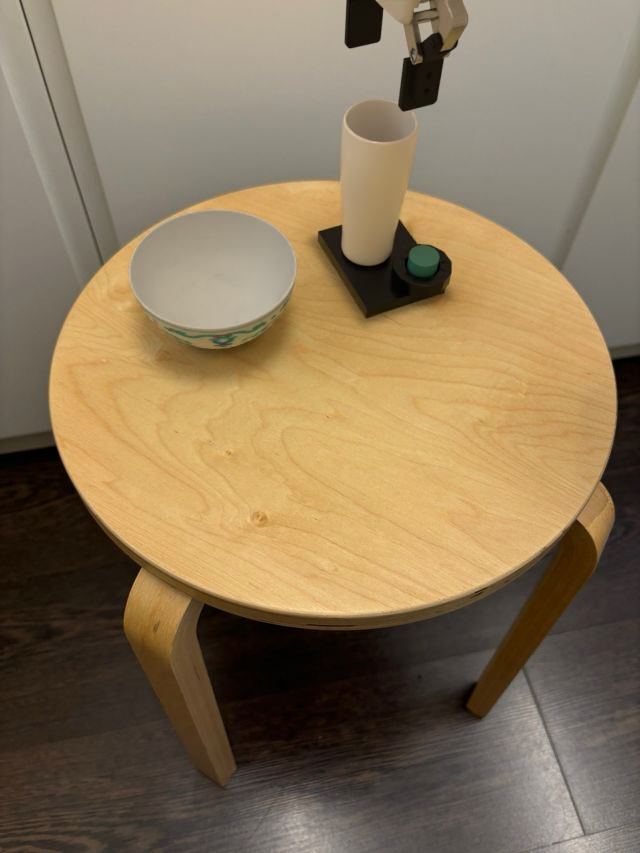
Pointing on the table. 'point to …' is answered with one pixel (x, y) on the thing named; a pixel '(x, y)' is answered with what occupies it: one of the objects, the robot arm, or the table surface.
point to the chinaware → (213, 276)
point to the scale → (385, 274)
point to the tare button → (423, 261)
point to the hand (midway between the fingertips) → (388, 73)
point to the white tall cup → (374, 176)
